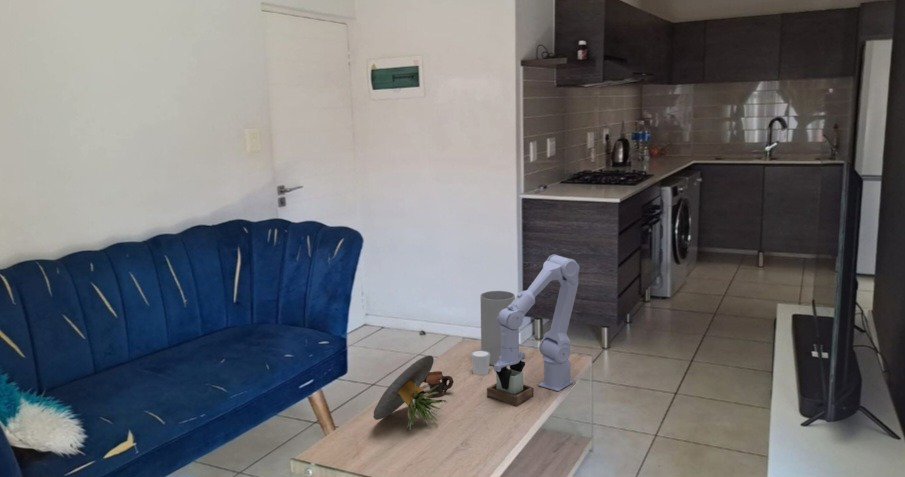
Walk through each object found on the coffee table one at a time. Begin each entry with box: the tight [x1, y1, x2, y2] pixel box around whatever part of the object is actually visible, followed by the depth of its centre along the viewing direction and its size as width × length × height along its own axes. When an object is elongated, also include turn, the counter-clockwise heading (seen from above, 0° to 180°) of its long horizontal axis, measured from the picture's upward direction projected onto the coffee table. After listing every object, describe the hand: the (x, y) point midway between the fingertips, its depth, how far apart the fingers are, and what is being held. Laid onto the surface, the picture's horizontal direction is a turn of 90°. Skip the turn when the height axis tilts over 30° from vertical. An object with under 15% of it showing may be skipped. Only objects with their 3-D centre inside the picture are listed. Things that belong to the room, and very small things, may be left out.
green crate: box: [495, 368, 524, 395], centre depth 227 cm, size 5×7×6 cm
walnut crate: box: [486, 382, 534, 407], centre depth 228 cm, size 10×12×3 cm
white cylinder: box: [470, 350, 490, 376], centre depth 249 cm, size 7×7×7 cm
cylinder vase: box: [480, 290, 516, 367], centre depth 259 cm, size 12×12×25 cm
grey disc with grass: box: [373, 355, 447, 432], centre depth 209 cm, size 25×18×25 cm
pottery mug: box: [423, 370, 454, 398], centre depth 234 cm, size 12×9×8 cm
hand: (510, 385), depth 228 cm, fingers closed on green crate, 5 cm apart
